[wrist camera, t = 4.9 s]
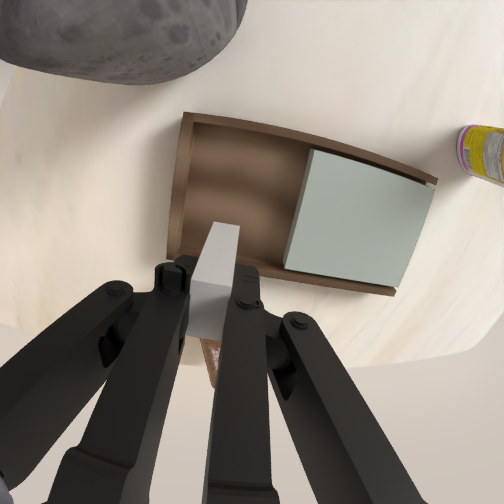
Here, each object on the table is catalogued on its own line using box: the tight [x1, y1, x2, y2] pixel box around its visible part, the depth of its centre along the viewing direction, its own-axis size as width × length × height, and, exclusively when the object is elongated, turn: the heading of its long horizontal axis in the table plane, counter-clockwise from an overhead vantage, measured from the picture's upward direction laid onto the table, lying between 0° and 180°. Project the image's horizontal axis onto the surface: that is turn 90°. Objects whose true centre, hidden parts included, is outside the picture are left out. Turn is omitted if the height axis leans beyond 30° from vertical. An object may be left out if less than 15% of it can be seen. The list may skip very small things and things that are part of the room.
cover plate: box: [283, 148, 435, 287], centre depth 27 cm, size 12×14×2 cm
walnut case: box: [166, 112, 438, 297], centre depth 27 cm, size 15×26×3 cm, turn 79°
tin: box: [200, 338, 222, 388], centre depth 30 cm, size 15×3×8 cm, turn 3°
